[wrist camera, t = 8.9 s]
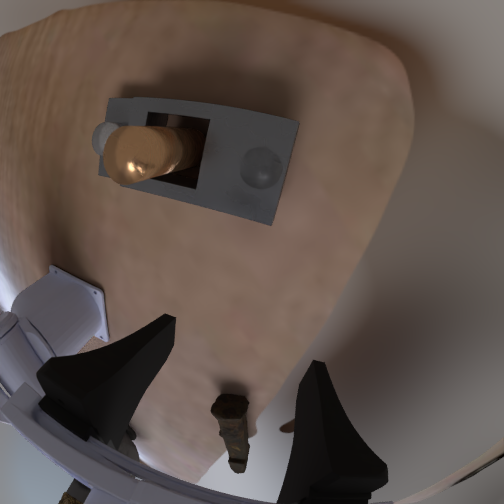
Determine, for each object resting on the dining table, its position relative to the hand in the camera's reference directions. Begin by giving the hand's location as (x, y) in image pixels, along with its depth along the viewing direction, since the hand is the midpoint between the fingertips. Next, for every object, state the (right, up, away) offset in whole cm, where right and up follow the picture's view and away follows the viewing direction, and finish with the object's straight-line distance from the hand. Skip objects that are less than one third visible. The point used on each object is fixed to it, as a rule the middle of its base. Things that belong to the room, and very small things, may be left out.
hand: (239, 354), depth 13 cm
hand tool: (-1, -20, +19) cm, 28 cm away
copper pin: (-4, +13, +6) cm, 15 cm away
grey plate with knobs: (-4, +13, +6) cm, 15 cm away
